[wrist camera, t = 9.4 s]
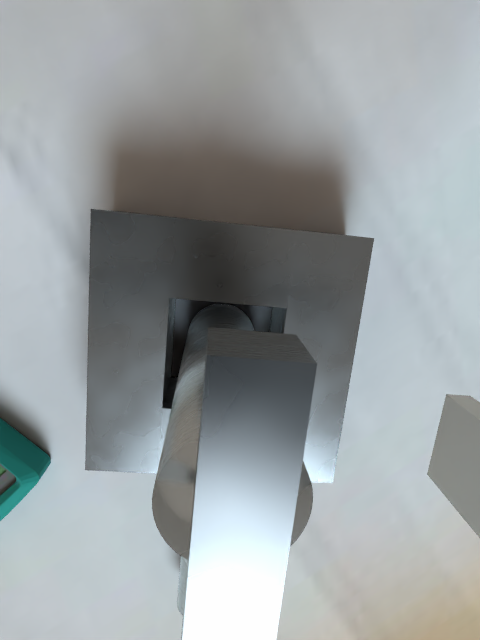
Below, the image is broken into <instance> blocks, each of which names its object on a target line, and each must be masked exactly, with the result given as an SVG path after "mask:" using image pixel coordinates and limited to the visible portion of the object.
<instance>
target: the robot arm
mask: <svg viewBox="0 0 480 640" xmlns="http://www.w3.org/2000/svg"><path fill="white" fill-rule="evenodd" d="M427 475H428V476H429V477H430V478H431V479H432V481H433V482H434V483H435V484H436V485H437V487H438V488H439V489H440V490H441V492H442V493H443V494H444V495H445V496H446V498H447V499H448V500H449V501H450V503H451V504H452V505H453V506H454V507H455V509H456V510H457V511H458V512H459V513H460V515H461V516H462V517H463V518H464V520H465V521H466V522H467V523H468V524H469V526H470V527H471V528H472V529H473V530H474V532H475V533H476V534H477V535H478V537H479V538H480V402H478V401H477V400H475V399H474V398H472V397H471V396H464V395H450V394H446V398H445V402H444V406H443V410H442V415H441V419H440V423H439V427H438V431H437V436H436V440H435V444H434V448H433V452H432V456H431V461H430V465H429V469H428V473H427Z"/></svg>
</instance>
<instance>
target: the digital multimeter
mask: <svg viewBox="0 0 480 640" xmlns="http://www.w3.org/2000/svg"><path fill="white" fill-rule="evenodd" d="M50 463H51V460H50V457H49V456H48V454H46V453H45V452H44V451H42V450H41V449H40V448H39V447H37V446H36V445H35V444H33V443H32V442H31V441H30V440H28V439H27V438H26V437H24V436H23V435H22V434H21V433H19V432H18V431H17V430H15V429H14V428H13V427H11V426H10V425H9V424H8V423H6V422H5V421H4V420H2V419H1V418H0V521H1V520H2V519H3V518H4V517H5V516H6V515H7V514H8V513H9V512H10V511H11V510H12V509H13V508H14V507H15V506H16V505H17V504H18V503H19V502H20V501H21V500H22V499H23V498H24V497H25V496H26V495H27V494H28V493H29V492H30V490H31V489H32V488H33V487H34V486H35V485H36V484H37V483H38V481H39V480H40V478H41V477H42V475H43V474H44V472H45V471H46V469H47V468H48V466H49V465H50ZM14 482H15V483H14ZM13 483H14V484H13ZM12 484H13V485H12Z"/></svg>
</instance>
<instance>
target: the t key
mask: <svg viewBox="0 0 480 640" xmlns="http://www.w3.org/2000/svg"><path fill="white" fill-rule="evenodd" d="M316 369H317V362H316V361H315V360H314V358H313V357H312V356H311V354H310V353H309V351H308V350H307V349H306V347H305V346H304V345H303V343H302V342H301V340H300V339H299V338H298V336H297V335H296V334H284V333H272V332H260V331H254V328H253V326H252V323H251V321H250V319H249V318H248V316H247V315H246V314H245V313H244V312H243V311H242V310H240V309H239V308H237V307H235V306H233V305H229V304H214V305H210V306H207V307H205V308H204V309H202V310H201V311H199V312H198V313H197V314H196V315H195V317H194V318H193V320H192V321H191V324H190V326H189V330H188V335H187V339H186V344H185V348H184V353H183V357H182V362H181V367H180V371H179V376H178V380H177V385H176V389H175V394H174V399H173V403H172V408H171V412H170V417H169V421H168V426H167V430H166V435H165V440H164V444H163V449H162V453H161V458H160V462H159V467H158V472H157V476H156V481H155V485H154V490H153V497H152V510H153V516H154V520H155V523H156V526H157V528H158V530H159V532H160V534H161V536H162V537H163V538H164V540H165V541H166V543H167V544H168V545H169V546H170V547H171V548H172V549H173V550H174V551H175V552H177V553H178V554H179V555H180V556H182V557H184V558H185V559H187V560H188V566H187V578H186V589H185V601H184V613H183V624H182V636H181V640H276V637H277V630H278V623H279V617H280V610H281V603H282V597H283V590H284V583H285V576H286V570H287V563H288V556H289V550H290V546H291V545H292V544H293V543H294V542H295V541H296V540H297V539H298V537H299V536H300V535H301V533H302V532H303V530H304V528H305V526H306V525H307V522H308V520H309V517H310V514H311V509H312V502H313V492H312V485H311V480H310V477H309V475H308V472H307V469H306V467H305V464H304V461H303V456H304V449H305V442H306V436H307V429H308V422H309V416H310V409H311V402H312V396H313V389H314V382H315V375H316Z"/></svg>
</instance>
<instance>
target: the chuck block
mask: <svg viewBox="0 0 480 640" xmlns="http://www.w3.org/2000/svg"><path fill="white" fill-rule="evenodd" d="M373 242H374V238H366V237H357V236H349V235H339V234H330V233H320V232H310V231H301V230H291V229H281V228H272V227H262V226H253V225H243V224H233V223H224V222H214V221H204V220H195V219H185V218H175V217H166V216H156V215H146V214H137V213H127V212H118V211H107V210H96V209H91V229H90V275H89V322H88V368H87V415H86V461H85V470H96V471H115V472H134V473H153V474H157V472H158V467H159V462H160V458H161V453H162V449H163V444H164V440H165V435H166V430H167V426H168V421H169V417H170V412H171V408H172V403H173V399H174V394H175V389H176V385H177V380H178V378H176V377H171V362H172V347H173V333H174V318H175V303H176V299H188V300H199V301H210V302H222V303H233V304H245V305H256V306H267V307H273V308H272V316H271V324H270V332H272V333H284V334H296V335H297V336H298V338H299V339H300V340H301V342H302V343H303V345H304V346H305V347H306V349H307V350H308V351H309V353H310V354H311V356H312V357H313V358H314V360H315V361H316V362H317V369H316V375H315V382H314V389H313V396H312V402H311V409H310V416H309V422H308V429H307V436H306V442H305V449H304V456H303V461H304V464H305V467H306V469H307V472H308V475H309V477H310V480H311V482H323V483H333V477H334V471H335V466H336V460H337V454H338V448H339V442H340V436H341V430H342V424H343V418H344V413H345V407H346V401H347V395H348V389H349V383H350V377H351V371H352V365H353V359H354V354H355V348H356V342H357V336H358V330H359V324H360V318H361V312H362V306H363V300H364V295H365V289H366V283H367V277H368V271H369V265H370V259H371V253H372V247H373ZM187 566H188V560H187V559H185V558H184V557H182V556H181V561H180V573H179V586H178V598H177V607H178V610H179V612H180V613H181V614H182V615H183V613H184V601H185V589H186V578H187Z"/></svg>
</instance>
